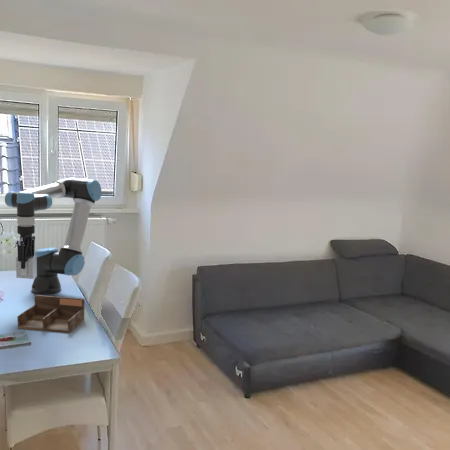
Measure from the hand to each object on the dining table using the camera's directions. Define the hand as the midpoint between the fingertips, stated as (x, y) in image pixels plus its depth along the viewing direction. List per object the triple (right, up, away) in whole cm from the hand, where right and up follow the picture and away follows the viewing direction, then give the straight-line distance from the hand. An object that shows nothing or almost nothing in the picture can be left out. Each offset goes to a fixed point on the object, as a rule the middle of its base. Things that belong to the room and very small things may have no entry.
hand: (26, 273), depth 231 cm
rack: (+16, -22, -11) cm, 29 cm away
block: (0, -2, 0) cm, 2 cm away
